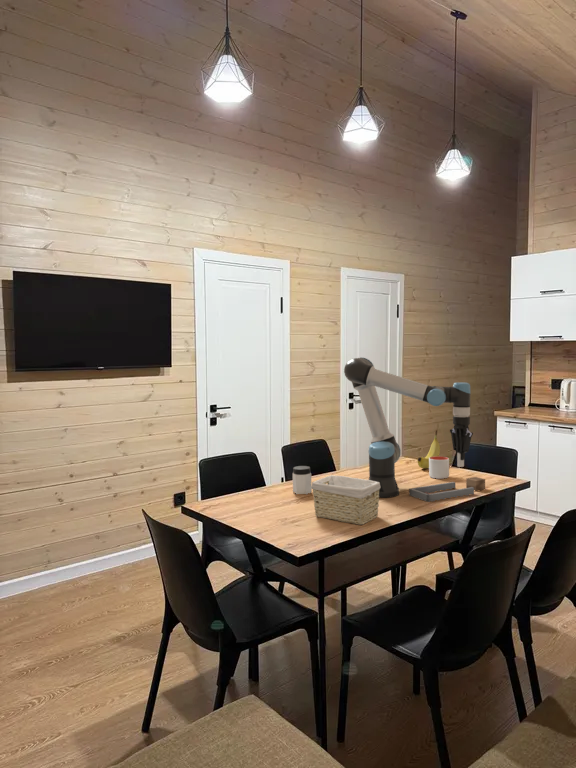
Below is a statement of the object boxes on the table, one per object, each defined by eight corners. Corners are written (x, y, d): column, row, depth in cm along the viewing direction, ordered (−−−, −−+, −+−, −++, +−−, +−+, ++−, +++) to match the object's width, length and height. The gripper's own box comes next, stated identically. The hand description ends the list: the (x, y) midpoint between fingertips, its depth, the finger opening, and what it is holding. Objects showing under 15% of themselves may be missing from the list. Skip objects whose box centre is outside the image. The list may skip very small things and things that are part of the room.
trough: (428, 501, 247) (427, 495, 247) (409, 495, 259) (409, 488, 259) (473, 494, 258) (473, 487, 258) (453, 488, 270) (453, 481, 270)
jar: (314, 493, 266) (313, 468, 266) (297, 495, 264) (297, 470, 263) (306, 489, 275) (306, 465, 274) (291, 491, 272) (290, 466, 271)
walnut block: (475, 491, 264) (475, 480, 263) (466, 488, 269) (466, 478, 269) (485, 489, 266) (485, 479, 266) (476, 487, 271) (476, 476, 271)
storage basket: (382, 517, 228) (382, 480, 227) (362, 527, 215) (362, 489, 214) (332, 508, 242) (331, 474, 241) (310, 517, 229) (309, 481, 228)
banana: (423, 471, 307) (423, 435, 306) (414, 470, 311) (413, 434, 310) (442, 464, 325) (442, 429, 323) (433, 463, 328) (432, 429, 327)
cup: (425, 476, 296) (424, 457, 295) (440, 474, 300) (440, 455, 299) (437, 480, 287) (437, 460, 286) (453, 478, 291) (453, 458, 290)
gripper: (477, 417, 257) (476, 468, 259) (458, 414, 269) (457, 463, 271) (465, 418, 254) (464, 470, 256) (445, 414, 266) (444, 464, 268)
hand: (460, 466), depth 263 cm, fingers closed
